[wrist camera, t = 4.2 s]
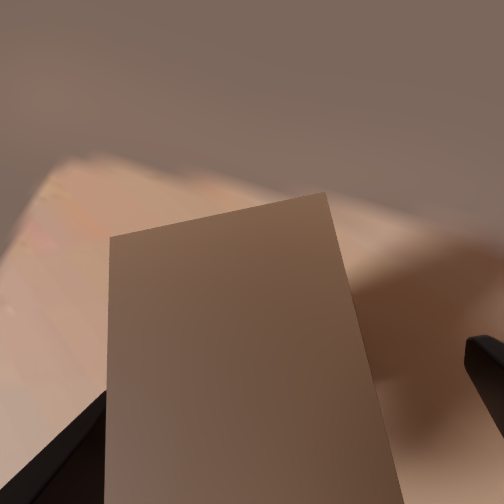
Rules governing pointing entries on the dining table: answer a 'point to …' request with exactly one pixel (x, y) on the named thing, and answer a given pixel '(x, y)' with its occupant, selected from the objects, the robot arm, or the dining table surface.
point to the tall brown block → (240, 366)
